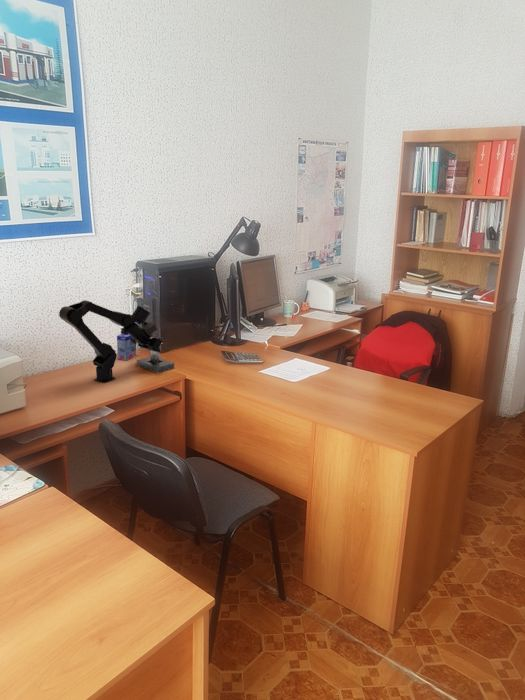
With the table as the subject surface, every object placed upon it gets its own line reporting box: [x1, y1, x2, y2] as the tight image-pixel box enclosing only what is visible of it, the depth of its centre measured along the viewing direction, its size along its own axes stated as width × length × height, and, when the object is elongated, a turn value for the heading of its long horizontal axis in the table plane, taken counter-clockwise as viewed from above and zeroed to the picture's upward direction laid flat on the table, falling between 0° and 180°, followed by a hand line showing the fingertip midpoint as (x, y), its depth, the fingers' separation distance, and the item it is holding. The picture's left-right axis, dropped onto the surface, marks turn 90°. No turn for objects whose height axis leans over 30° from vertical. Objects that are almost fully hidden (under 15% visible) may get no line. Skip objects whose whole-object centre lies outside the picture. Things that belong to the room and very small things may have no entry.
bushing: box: [149, 336, 160, 364], centre depth 261 cm, size 4×4×13 cm
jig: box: [136, 356, 175, 374], centre depth 263 cm, size 10×16×2 cm, turn 46°
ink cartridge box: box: [116, 333, 137, 361], centre depth 275 cm, size 10×6×14 cm, turn 163°
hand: (157, 350), depth 262 cm, fingers closed on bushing, 4 cm apart
